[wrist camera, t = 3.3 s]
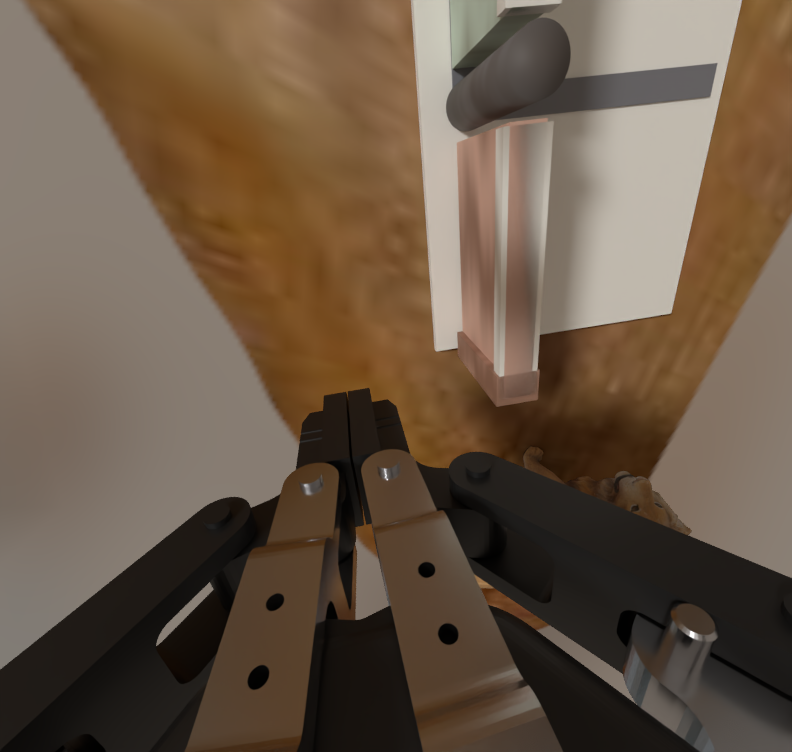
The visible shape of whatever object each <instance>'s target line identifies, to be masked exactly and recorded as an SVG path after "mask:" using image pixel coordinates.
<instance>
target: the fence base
mask: <svg viewBox="0 0 792 752" xmlns="http://www.w3.org/2000/svg"><path fill="white" fill-rule="evenodd" d="M561 3H562V0H450V17H451V47H452V69H457V68H468V67H476V68H475V69H474V70H472V71H471V72H470V73H469V74H468V75H467V76H466V77H464V78H463V79H462V80H461V81H460V82H459V83H457V84H456V85H455V86H454V87H453V88H452V90H451V91H450V93H449V95H448V98H447V102H446V113H447V117H448V120H449V122H450V123H451V125H452V126H453V127H454V128H456V129H457V130H459V131H463V132H467V131H471V130H474V129H476V128H478V127H481V126H483V125H485V124H488V123H490V122H492V121H494V120H497V119H499V118H501V117H504V116H506V115H508V114H510V113H513V112H515V111H517V110H520V109H522V108H524V107H526V106H529V105H531V104H533V103H536V102H538V101H540V100H542V99H545V98H547V97H549V96H550V95H552V94H553V93H554V92H555V91H556V90H557V89H558V88H559V87H560V85H561V84H562V82H563V81H564V79H565V77H566V74H567V72H568V69H569V65H570V58H571V50H570V42H569V39H568V36H567V34H566V32H565V30H564V28H563V27H562V26H561V25H560V24H559V23H558V22H556V21H555V20H553V19H550V18H539V17H540V16H541V15H542V14H543V13H550V12H552V11H553V10H554V9H555V8H557V7H558V6H559V5H560V4H561Z"/></svg>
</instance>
